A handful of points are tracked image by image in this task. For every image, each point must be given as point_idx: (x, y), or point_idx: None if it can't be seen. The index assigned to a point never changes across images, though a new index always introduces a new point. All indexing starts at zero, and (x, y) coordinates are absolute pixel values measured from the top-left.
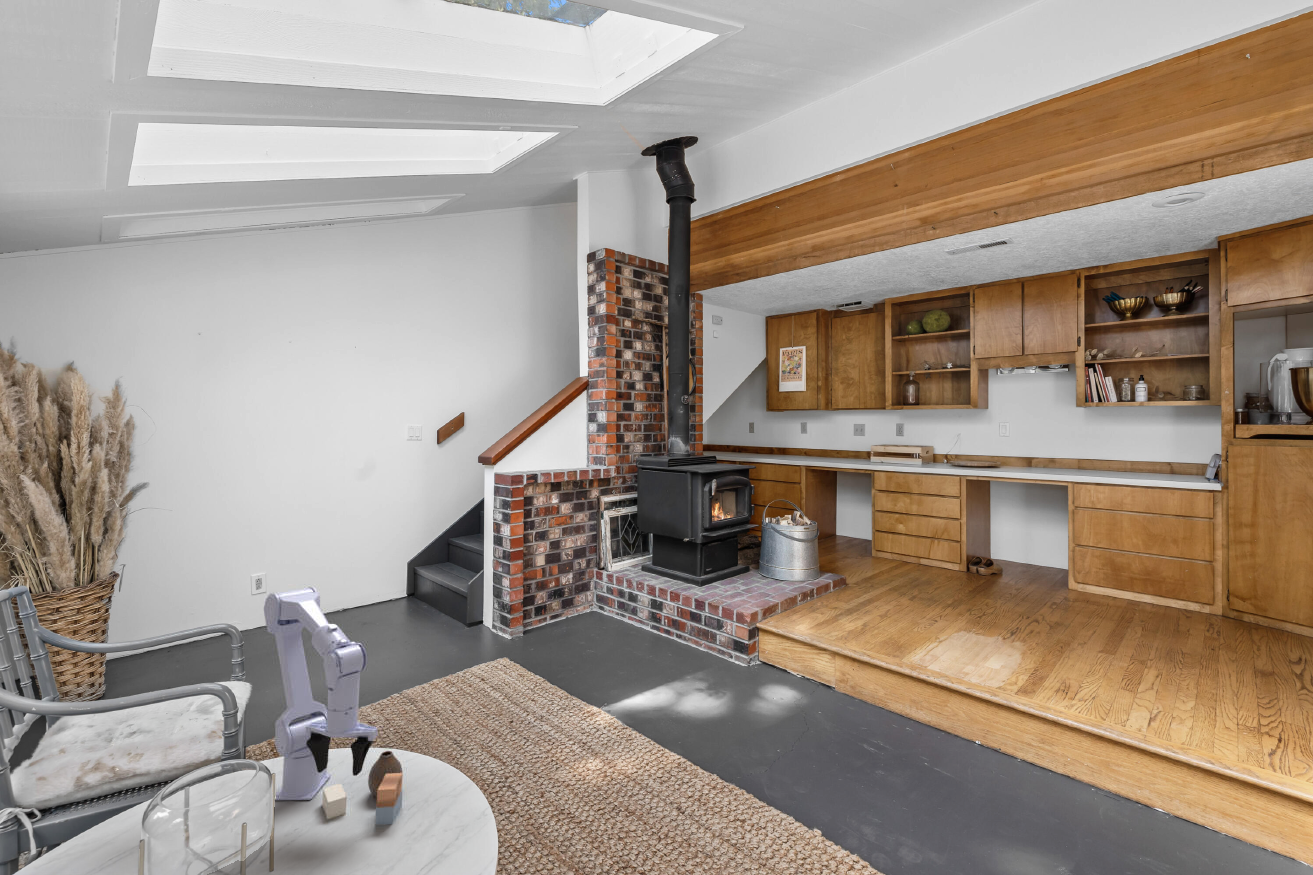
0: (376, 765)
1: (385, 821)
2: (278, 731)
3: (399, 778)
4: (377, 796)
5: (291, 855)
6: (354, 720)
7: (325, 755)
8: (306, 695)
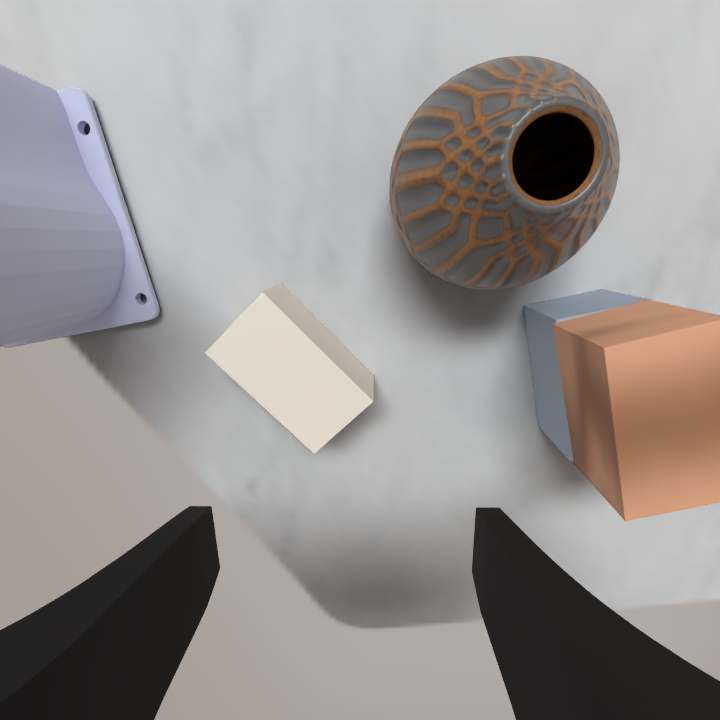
0: (476, 244)
1: None
2: None
3: None
4: (604, 494)
5: (336, 596)
6: None
7: (158, 603)
8: None
